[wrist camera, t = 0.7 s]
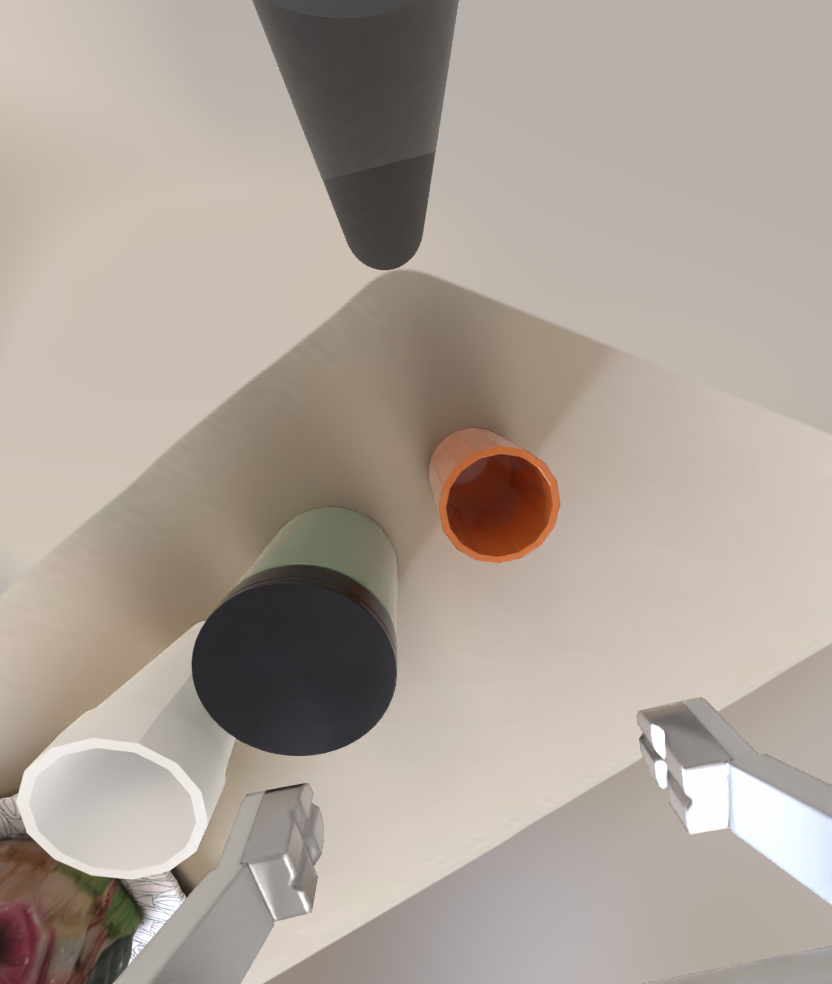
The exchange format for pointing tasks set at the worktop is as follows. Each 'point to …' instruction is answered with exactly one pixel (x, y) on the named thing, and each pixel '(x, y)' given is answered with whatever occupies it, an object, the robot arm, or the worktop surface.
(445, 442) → the cup
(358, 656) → the jar lid
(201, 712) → the foam cup
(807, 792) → the robot arm
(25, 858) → the cookie jar
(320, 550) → the jar
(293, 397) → the worktop surface
